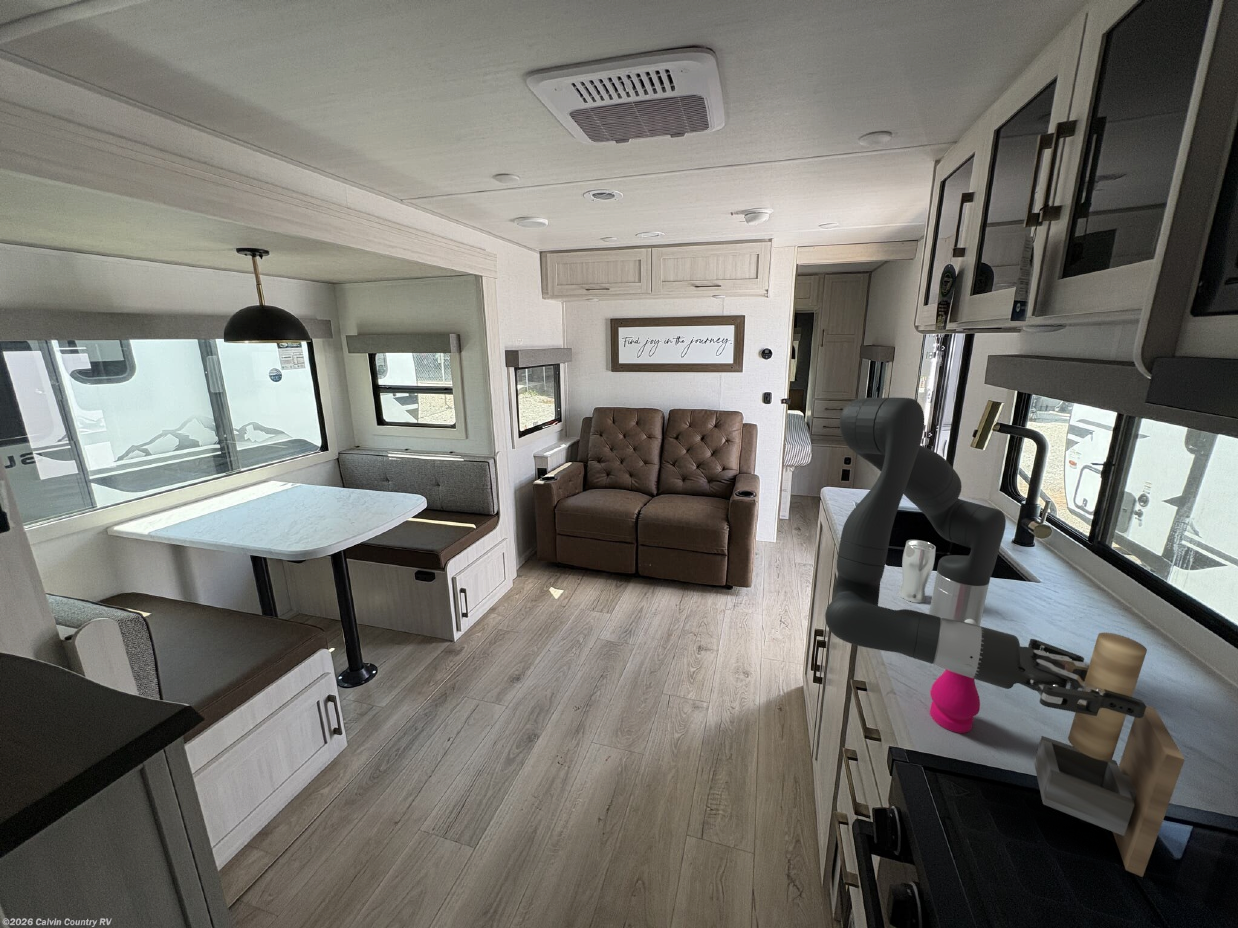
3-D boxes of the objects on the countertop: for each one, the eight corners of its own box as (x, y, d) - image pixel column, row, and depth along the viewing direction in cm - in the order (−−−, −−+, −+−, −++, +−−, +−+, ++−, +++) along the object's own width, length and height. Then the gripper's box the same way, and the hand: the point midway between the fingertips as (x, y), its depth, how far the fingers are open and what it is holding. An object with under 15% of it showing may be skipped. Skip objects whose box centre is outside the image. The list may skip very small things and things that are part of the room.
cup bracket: (1027, 779, 75) (1054, 679, 71) (1119, 814, 69) (1154, 708, 65) (1037, 832, 67) (1069, 722, 62) (1142, 876, 61) (1184, 759, 57)
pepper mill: (929, 699, 92) (948, 603, 87) (976, 717, 87) (999, 618, 82) (923, 721, 86) (943, 620, 81) (973, 742, 82) (997, 637, 77)
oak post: (1065, 729, 69) (1094, 628, 65) (1107, 743, 66) (1140, 639, 62) (1071, 750, 65) (1103, 645, 61) (1117, 765, 63) (1152, 657, 59)
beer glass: (926, 606, 125) (937, 552, 121) (895, 599, 128) (904, 546, 124) (926, 595, 130) (936, 543, 127) (897, 588, 134) (905, 537, 130)
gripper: (981, 653, 64) (1167, 706, 55) (976, 607, 76) (1128, 644, 67) (970, 701, 66) (1148, 760, 57) (966, 649, 78) (1113, 691, 69)
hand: (1136, 697), depth 62 cm, fingers closed on oak post, 4 cm apart
